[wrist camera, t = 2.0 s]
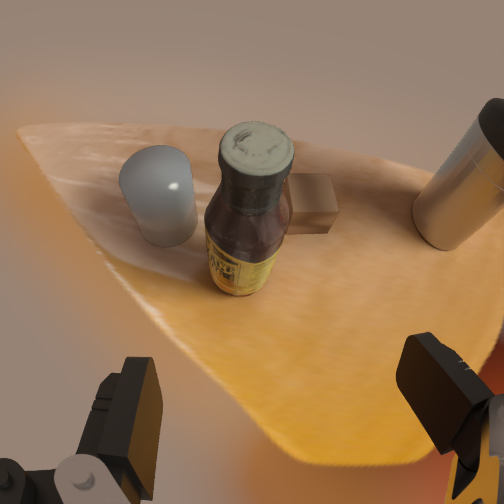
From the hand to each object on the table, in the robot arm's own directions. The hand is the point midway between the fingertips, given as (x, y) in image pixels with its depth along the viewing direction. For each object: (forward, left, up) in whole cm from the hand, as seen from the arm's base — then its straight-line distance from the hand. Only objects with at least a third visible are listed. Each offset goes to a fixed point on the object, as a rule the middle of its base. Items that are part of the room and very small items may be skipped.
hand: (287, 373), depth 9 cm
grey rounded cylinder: (+8, -19, -22) cm, 30 cm away
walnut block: (-8, -19, -22) cm, 30 cm away
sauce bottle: (0, -12, -23) cm, 25 cm away
